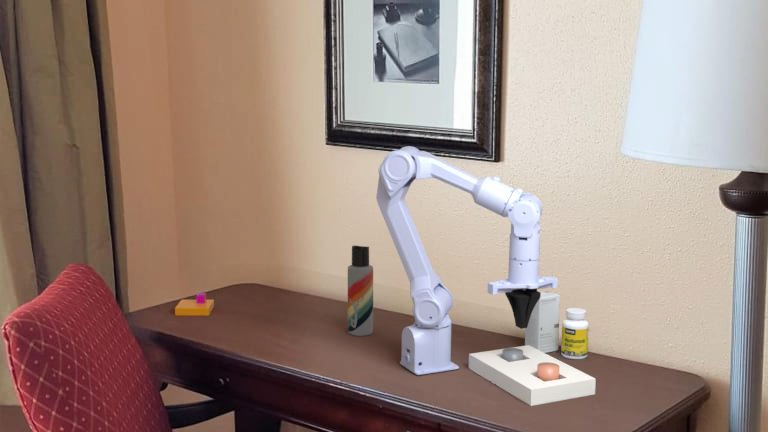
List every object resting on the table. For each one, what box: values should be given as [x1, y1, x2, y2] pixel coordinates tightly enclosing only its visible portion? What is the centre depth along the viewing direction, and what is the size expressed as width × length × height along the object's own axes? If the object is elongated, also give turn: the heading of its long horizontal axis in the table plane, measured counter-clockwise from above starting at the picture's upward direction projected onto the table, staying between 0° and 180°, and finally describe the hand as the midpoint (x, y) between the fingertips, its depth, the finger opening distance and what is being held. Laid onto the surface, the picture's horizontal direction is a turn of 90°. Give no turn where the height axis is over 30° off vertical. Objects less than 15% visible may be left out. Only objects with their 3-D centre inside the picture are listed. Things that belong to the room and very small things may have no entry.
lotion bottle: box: [347, 245, 374, 337], centre depth 206 cm, size 6×6×20 cm
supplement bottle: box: [560, 307, 590, 360], centre depth 192 cm, size 5×5×10 cm
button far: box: [502, 347, 523, 362], centre depth 182 cm, size 4×4×4 cm
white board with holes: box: [468, 345, 597, 407], centre depth 177 cm, size 14×22×3 cm, turn 25°
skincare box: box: [524, 290, 561, 354], centre depth 195 cm, size 6×4×12 cm
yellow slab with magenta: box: [174, 292, 215, 316], centre depth 225 cm, size 8×8×4 cm
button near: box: [537, 362, 559, 382], centre depth 172 cm, size 4×4×4 cm
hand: (521, 327), depth 179 cm, fingers closed
